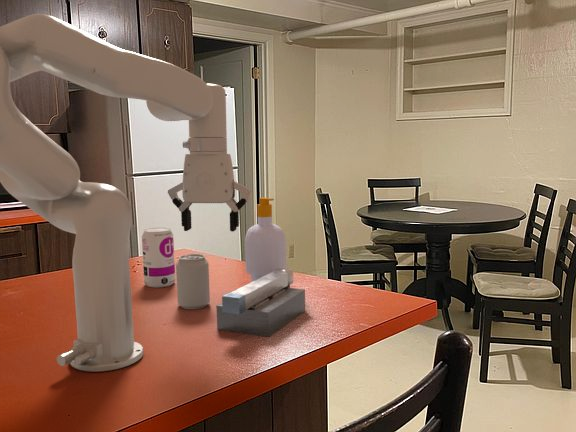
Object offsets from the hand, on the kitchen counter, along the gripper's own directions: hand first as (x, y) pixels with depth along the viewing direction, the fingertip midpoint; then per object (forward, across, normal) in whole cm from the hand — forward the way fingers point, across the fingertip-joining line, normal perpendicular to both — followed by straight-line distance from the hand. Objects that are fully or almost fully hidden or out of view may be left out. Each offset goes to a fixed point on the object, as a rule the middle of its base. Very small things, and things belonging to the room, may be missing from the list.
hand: (210, 230), depth 116 cm
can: (+20, -8, +13) cm, 25 cm away
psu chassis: (+20, +11, +6) cm, 23 cm away
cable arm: (+15, +10, +4) cm, 18 cm away
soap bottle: (+20, +8, +25) cm, 33 cm away
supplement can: (+20, -23, +32) cm, 44 cm away
